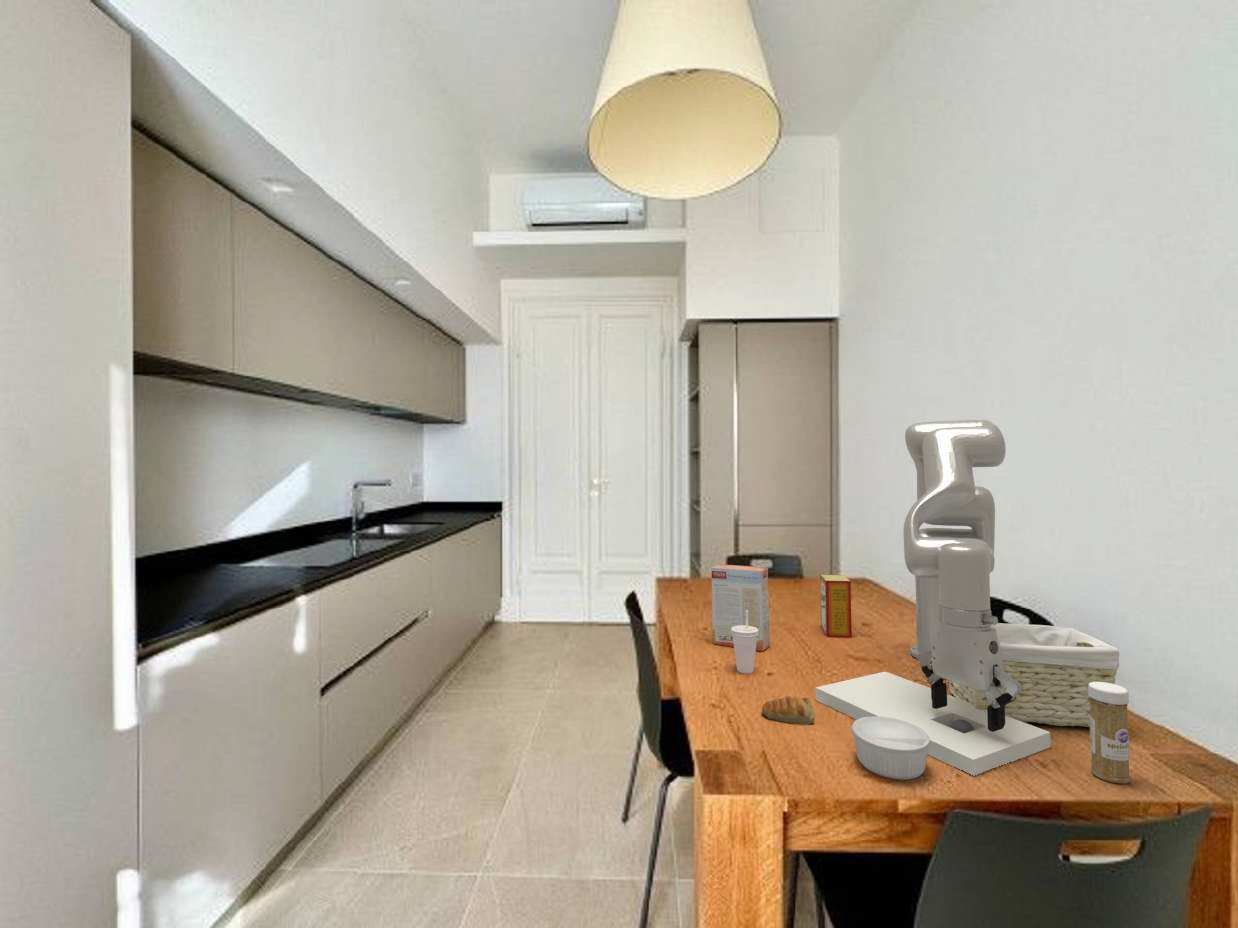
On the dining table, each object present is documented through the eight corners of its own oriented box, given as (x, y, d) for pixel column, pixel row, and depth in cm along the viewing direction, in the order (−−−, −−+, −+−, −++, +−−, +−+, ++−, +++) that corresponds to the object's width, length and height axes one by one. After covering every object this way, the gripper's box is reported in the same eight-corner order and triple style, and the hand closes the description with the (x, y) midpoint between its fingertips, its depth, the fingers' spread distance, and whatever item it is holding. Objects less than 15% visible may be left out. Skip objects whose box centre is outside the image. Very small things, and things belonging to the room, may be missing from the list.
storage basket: (1072, 698, 112) (1069, 623, 113) (1127, 735, 96) (1125, 648, 97) (940, 690, 117) (939, 619, 117) (973, 724, 101) (971, 642, 102)
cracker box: (770, 646, 149) (769, 566, 149) (763, 652, 144) (761, 570, 144) (720, 638, 156) (719, 563, 157) (711, 644, 151) (710, 566, 151)
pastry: (764, 724, 103) (763, 703, 104) (759, 708, 110) (759, 689, 110) (817, 726, 102) (816, 705, 102) (809, 710, 109) (809, 691, 109)
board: (815, 699, 113) (815, 687, 114) (885, 682, 122) (885, 671, 122) (973, 776, 85) (973, 759, 85) (1050, 747, 93) (1050, 732, 93)
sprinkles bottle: (1120, 787, 81) (1117, 693, 81) (1083, 772, 85) (1081, 683, 85) (1137, 780, 83) (1135, 688, 83) (1100, 765, 87) (1098, 678, 87)
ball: (967, 713, 97) (983, 732, 94) (955, 723, 99) (971, 742, 96) (953, 718, 95) (970, 738, 93) (942, 728, 97) (958, 748, 95)
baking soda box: (821, 627, 166) (820, 573, 166) (844, 628, 164) (843, 573, 165) (826, 637, 156) (825, 579, 157) (851, 638, 155) (850, 579, 155)
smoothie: (760, 676, 127) (759, 614, 127) (731, 674, 128) (730, 612, 128) (758, 666, 133) (757, 607, 133) (731, 665, 134) (730, 606, 135)
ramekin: (894, 791, 81) (894, 754, 81) (836, 756, 91) (835, 723, 91) (948, 774, 85) (947, 739, 86) (886, 742, 96) (885, 711, 96)
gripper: (1032, 626, 90) (1035, 734, 89) (931, 603, 105) (933, 695, 105) (1003, 632, 86) (1006, 744, 86) (904, 608, 102) (906, 703, 102)
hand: (966, 717), depth 96 cm, fingers open, 9 cm apart
